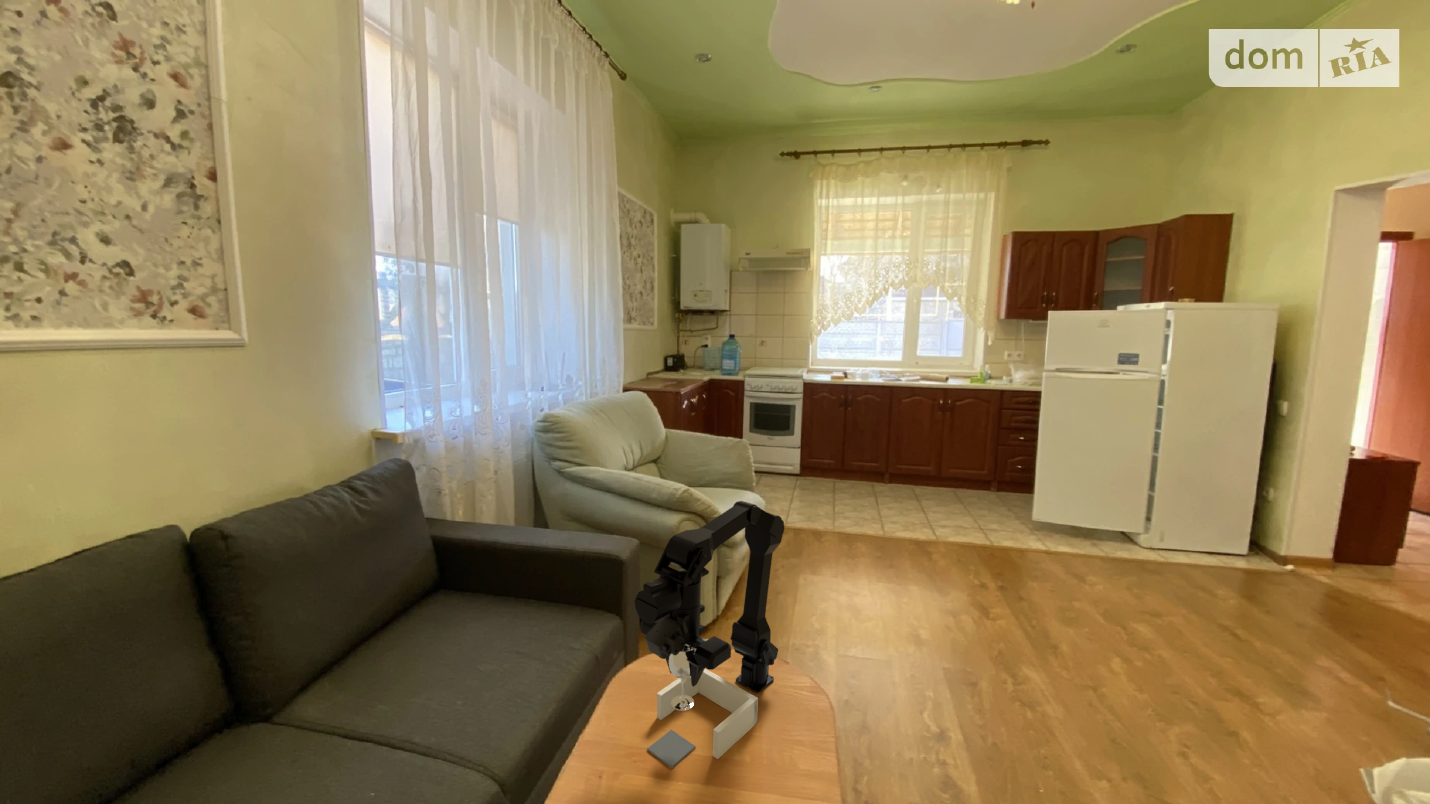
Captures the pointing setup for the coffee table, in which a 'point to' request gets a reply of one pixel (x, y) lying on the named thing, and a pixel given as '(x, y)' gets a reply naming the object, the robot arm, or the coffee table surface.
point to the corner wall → (723, 695)
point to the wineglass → (682, 676)
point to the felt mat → (671, 748)
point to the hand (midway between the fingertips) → (683, 678)
